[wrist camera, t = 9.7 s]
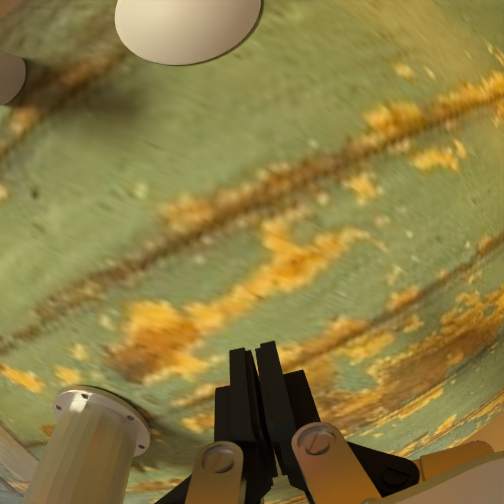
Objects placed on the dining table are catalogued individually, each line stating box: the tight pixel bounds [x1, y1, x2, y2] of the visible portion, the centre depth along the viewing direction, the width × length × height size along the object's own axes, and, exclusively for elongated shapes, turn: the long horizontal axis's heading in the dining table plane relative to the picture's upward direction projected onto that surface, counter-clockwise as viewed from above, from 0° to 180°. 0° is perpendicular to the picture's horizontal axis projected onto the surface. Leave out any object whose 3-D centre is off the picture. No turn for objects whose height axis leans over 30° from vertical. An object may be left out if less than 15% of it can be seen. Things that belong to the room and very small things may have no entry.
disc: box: [115, 0, 261, 65], centre depth 19 cm, size 12×12×1 cm
